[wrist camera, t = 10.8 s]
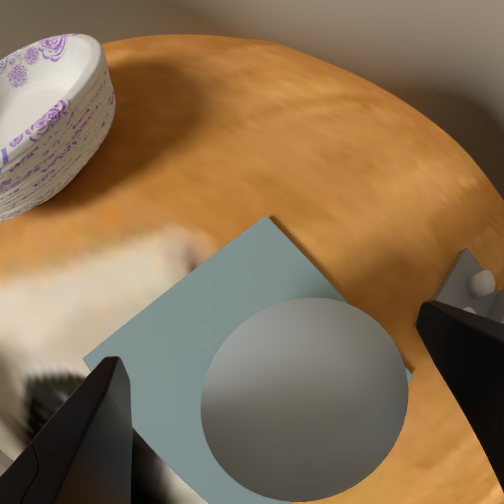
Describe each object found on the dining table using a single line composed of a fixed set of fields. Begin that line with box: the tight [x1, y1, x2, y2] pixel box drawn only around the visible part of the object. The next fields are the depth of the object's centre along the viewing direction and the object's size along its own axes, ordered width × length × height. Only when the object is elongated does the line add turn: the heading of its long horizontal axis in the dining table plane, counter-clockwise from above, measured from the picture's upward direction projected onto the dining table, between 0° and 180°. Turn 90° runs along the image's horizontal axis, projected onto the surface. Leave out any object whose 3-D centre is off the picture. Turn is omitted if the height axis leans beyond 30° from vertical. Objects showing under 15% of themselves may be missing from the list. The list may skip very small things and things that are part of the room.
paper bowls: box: [0, 34, 116, 222], centre depth 16 cm, size 15×15×8 cm
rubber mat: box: [83, 215, 413, 504], centre depth 16 cm, size 14×14×1 cm
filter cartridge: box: [200, 298, 408, 502], centre depth 11 cm, size 5×5×10 cm
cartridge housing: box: [415, 248, 504, 326], centre depth 17 cm, size 13×8×3 cm, turn 42°
